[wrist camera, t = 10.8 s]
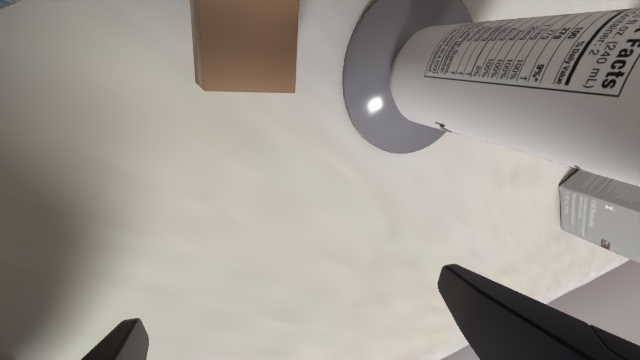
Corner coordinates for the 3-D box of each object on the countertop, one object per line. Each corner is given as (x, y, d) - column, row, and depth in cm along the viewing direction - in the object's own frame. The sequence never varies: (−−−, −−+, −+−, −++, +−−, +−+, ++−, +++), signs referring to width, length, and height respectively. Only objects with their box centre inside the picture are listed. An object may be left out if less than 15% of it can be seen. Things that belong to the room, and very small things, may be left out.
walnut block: (270, 84, 18) (295, 93, 15) (195, 82, 16) (204, 91, 13) (270, 6, 17) (298, -5, 13) (189, -6, 15) (197, -22, 12)
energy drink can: (391, 133, 22) (696, 245, 9) (374, 45, 19) (784, 36, 7) (455, 101, 24) (792, 159, 11) (449, 14, 21) (898, -42, 8)
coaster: (435, 162, 26) (440, 164, 25) (321, 134, 20) (325, 136, 20) (491, 22, 23) (498, 22, 23) (377, -53, 18) (383, -56, 17)
